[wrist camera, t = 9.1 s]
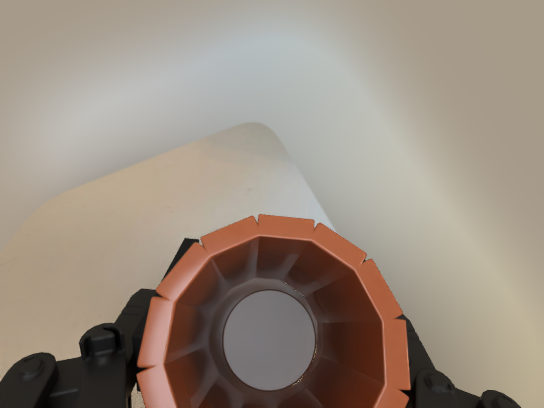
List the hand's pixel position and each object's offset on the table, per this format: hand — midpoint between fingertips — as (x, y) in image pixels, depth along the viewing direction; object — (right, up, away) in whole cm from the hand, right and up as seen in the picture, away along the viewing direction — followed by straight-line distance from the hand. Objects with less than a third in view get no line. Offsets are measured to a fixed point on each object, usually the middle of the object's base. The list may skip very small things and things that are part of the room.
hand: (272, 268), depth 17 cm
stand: (-1, -6, +7) cm, 9 cm away
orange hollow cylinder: (0, -4, +2) cm, 5 cm away
